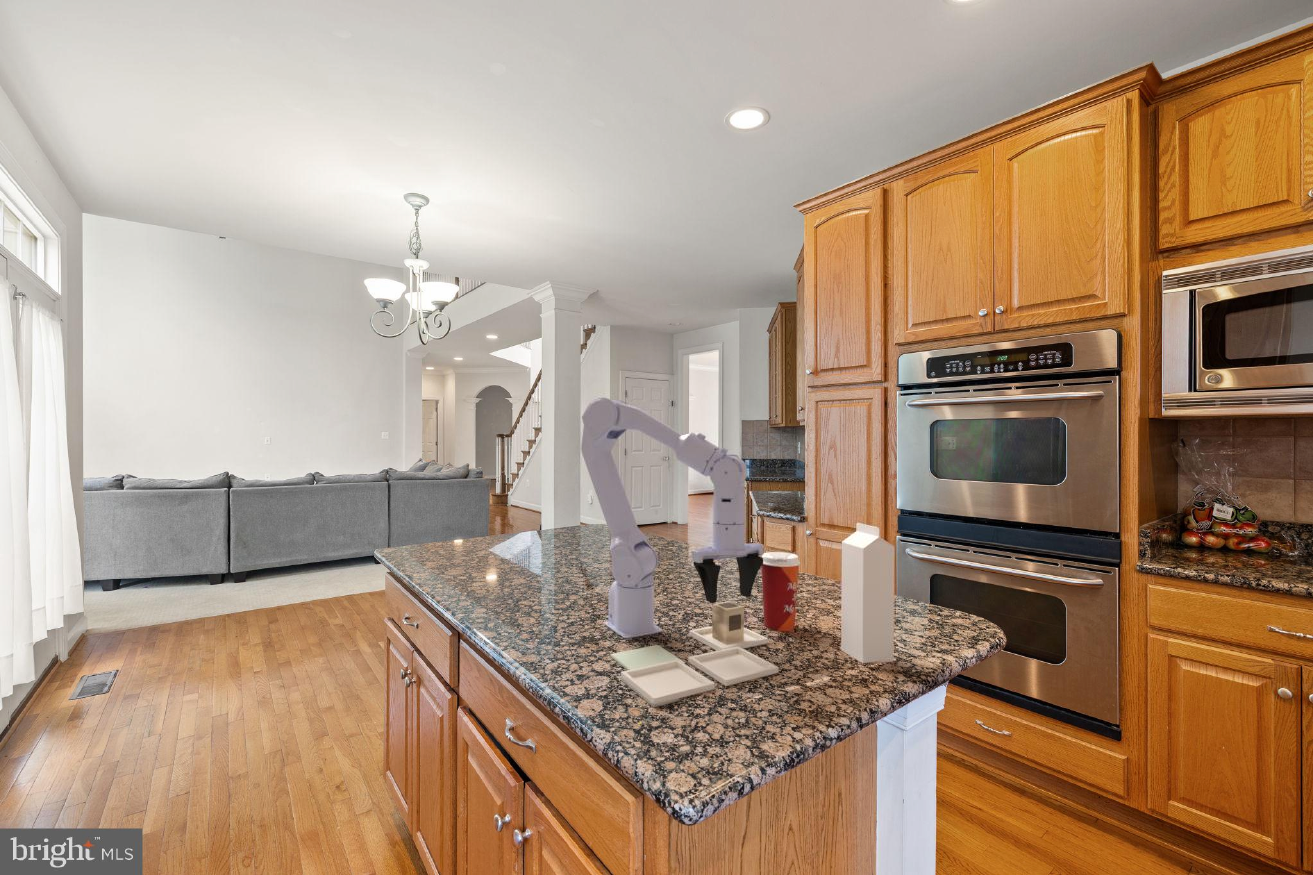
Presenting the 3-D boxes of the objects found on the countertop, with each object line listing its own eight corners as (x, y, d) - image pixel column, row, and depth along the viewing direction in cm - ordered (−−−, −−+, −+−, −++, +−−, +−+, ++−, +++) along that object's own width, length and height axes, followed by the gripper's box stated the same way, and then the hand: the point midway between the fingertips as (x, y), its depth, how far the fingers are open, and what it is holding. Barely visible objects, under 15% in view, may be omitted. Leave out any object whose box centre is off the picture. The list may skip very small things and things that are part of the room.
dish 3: (688, 664, 91) (688, 657, 91) (738, 653, 96) (738, 646, 96) (725, 688, 82) (725, 680, 82) (778, 674, 87) (778, 667, 87)
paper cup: (801, 636, 104) (801, 560, 104) (758, 633, 106) (759, 558, 106) (799, 623, 112) (799, 552, 112) (759, 620, 114) (760, 550, 114)
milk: (862, 666, 91) (863, 528, 91) (840, 652, 97) (840, 523, 97) (894, 661, 93) (895, 526, 93) (870, 648, 99) (871, 521, 99)
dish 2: (689, 637, 103) (689, 630, 103) (733, 628, 108) (733, 622, 108) (721, 655, 95) (721, 648, 95) (768, 645, 100) (768, 638, 100)
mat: (610, 656, 94) (610, 654, 94) (657, 647, 98) (657, 644, 98) (635, 676, 86) (635, 673, 86) (685, 665, 91) (685, 662, 91)
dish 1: (620, 679, 85) (620, 671, 85) (677, 666, 90) (677, 659, 90) (653, 707, 76) (653, 698, 76) (714, 691, 81) (714, 683, 81)
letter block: (712, 637, 102) (712, 603, 102) (730, 633, 104) (730, 600, 104) (725, 644, 99) (726, 609, 99) (744, 640, 101) (744, 606, 101)
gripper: (708, 528, 95) (708, 610, 95) (774, 522, 102) (774, 598, 102) (685, 523, 101) (685, 599, 101) (749, 517, 108) (749, 589, 108)
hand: (728, 598), depth 102 cm, fingers open, 7 cm apart
